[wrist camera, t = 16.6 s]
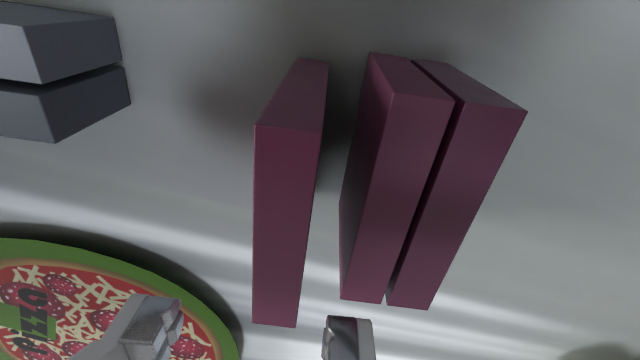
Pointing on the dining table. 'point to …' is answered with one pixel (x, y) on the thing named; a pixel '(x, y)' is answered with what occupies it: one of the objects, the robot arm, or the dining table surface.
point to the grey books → (57, 72)
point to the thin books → (416, 176)
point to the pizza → (87, 303)
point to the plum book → (285, 190)
